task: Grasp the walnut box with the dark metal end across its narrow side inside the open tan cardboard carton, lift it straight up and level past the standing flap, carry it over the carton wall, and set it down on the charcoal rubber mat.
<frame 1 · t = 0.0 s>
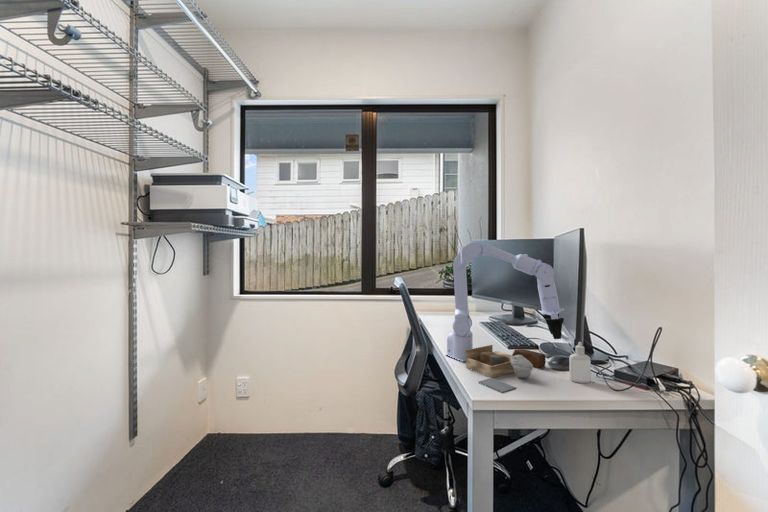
hand: (555, 336, 117), 11 cm above the table, tool pointing down, fingers open, 7 cm apart
box: (492, 361, 115), in the carton
mat: (496, 385, 101), on the table
carton: (492, 369, 115), on the table
grey faceted rock: (521, 378, 107), on the table
brick: (528, 365, 120), on the table
eye dropper bottle: (579, 381, 104), on the table
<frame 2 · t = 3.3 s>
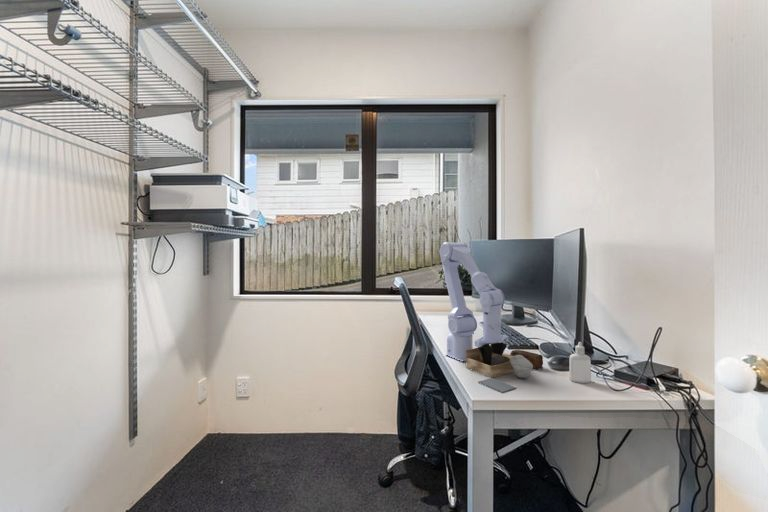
hand: (492, 365, 115), 1 cm above the table, tool pointing down, fingers closed on box, 4 cm apart
box: (492, 361, 115), in the carton, touching gripper
brick: (525, 366, 119), on the table
everything else where it was.
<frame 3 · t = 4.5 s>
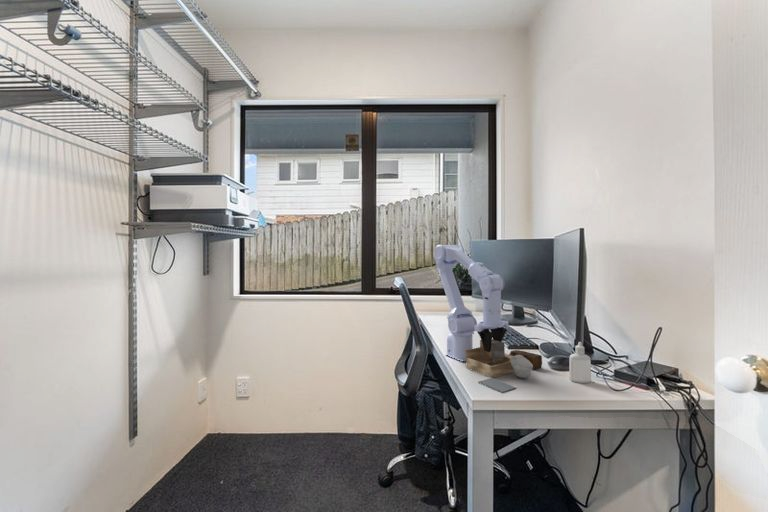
hand: (491, 350, 115), 6 cm above the table, tool pointing down, fingers closed on box, 4 cm apart
box: (492, 348, 115), point 7 cm above the table, touching gripper
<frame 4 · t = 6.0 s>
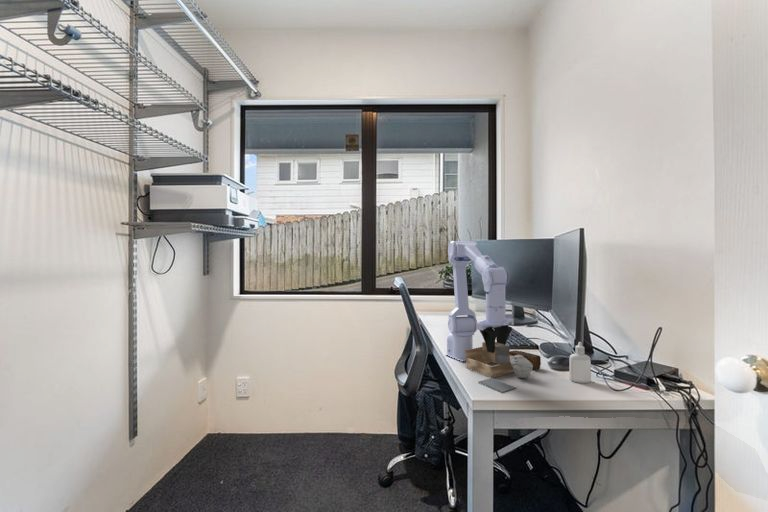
hand: (495, 350, 103), 10 cm above the table, tool pointing down, fingers closed on box, 4 cm apart
box: (495, 352, 103), point 9 cm above the table, touching gripper
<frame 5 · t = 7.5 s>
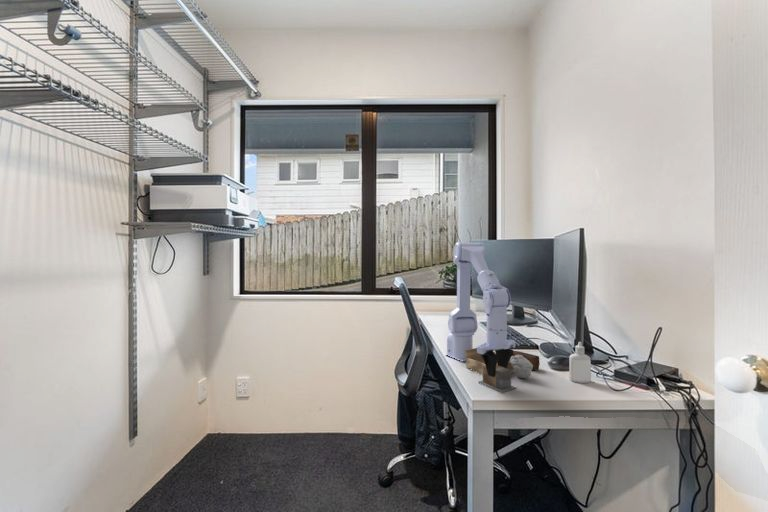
hand: (496, 374, 101), 3 cm above the table, tool pointing down, fingers closed on box, 4 cm apart
box: (496, 376, 101), resting on mat, touching gripper
when the fingers open (3 cm above the table, at t = 8.3 s): box stays where it is, resting on mat.
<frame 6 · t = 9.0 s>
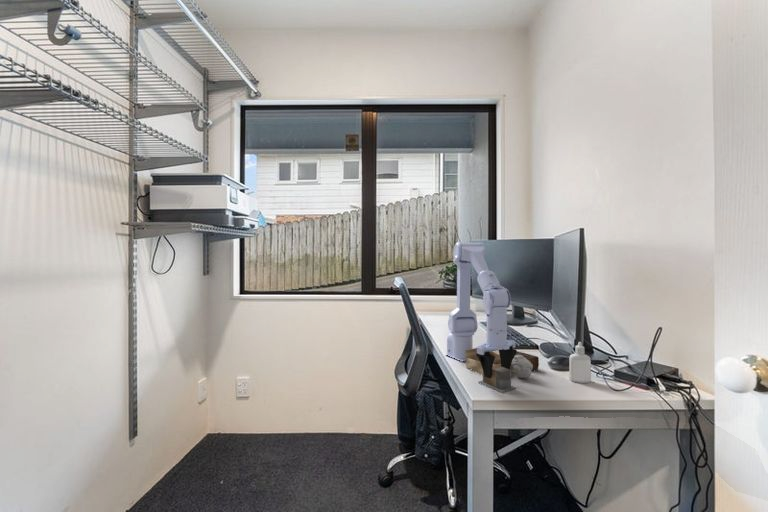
hand: (496, 374, 101), 3 cm above the table, tool pointing down, fingers open, 7 cm apart
box: (496, 376, 101), resting on mat
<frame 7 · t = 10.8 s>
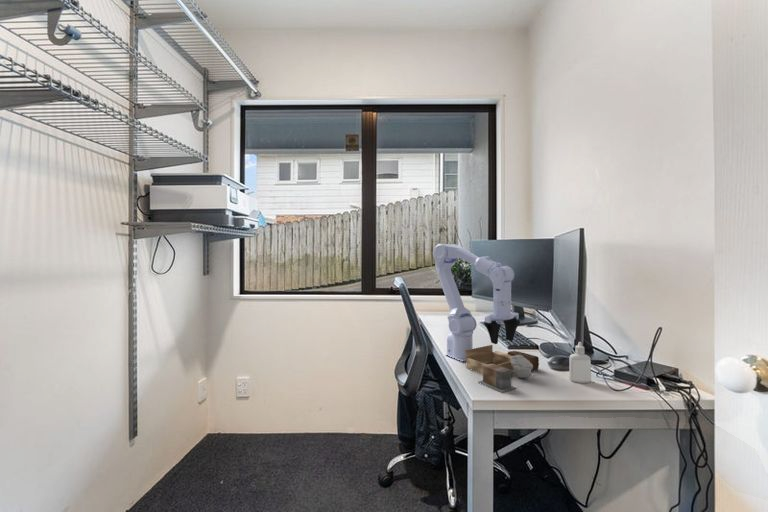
hand: (502, 341, 115), 9 cm above the table, tool pointing down, fingers open, 7 cm apart
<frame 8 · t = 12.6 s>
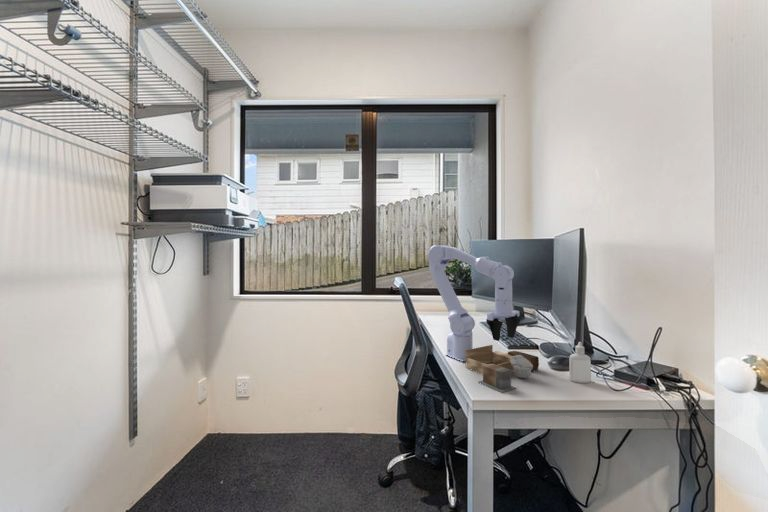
hand: (503, 338, 118), 9 cm above the table, tool pointing down, fingers open, 7 cm apart
at the end: box 0.0 cm off-centre on the mat, point 2.8 cm above the mat's base; box tilted 0°; the gripper is holding nothing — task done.
